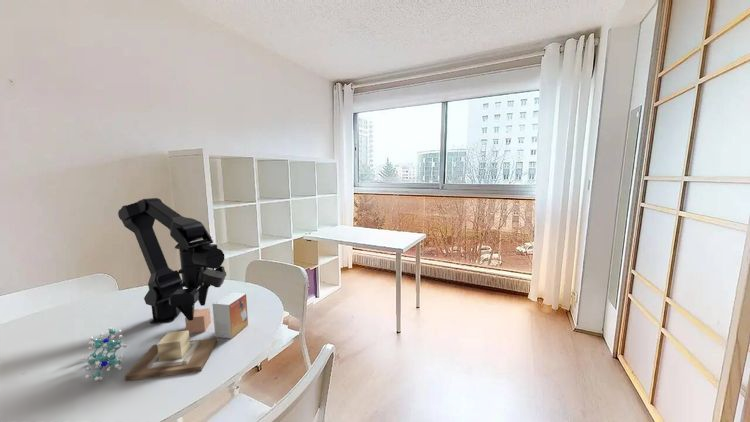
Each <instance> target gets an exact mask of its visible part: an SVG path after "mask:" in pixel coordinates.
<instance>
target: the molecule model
mask: <svg viewBox="0 0 750 422" xmlns="http://www.w3.org/2000/svg"><path fill="white" fill-rule="evenodd" d="M107 330H108V334H109V335H108V336H107V338H105V339H102V337H104V335H105V334H104V333H103V332H101V333H99V338H94V337H93V336H90V337H89V340H90V341H89V342H88V345H91V346H89V347H88V350H89V351H91V350H93V348H94V349H95V350H94V352H93V353H91V354H89V356H86V355H85V356H83V357H82V358H81V360H82V361H88V362H87V364H88V366H87V367H85V371H89V370H91V365H93V364H95V365H94V369H95V370H97V369H98V368H99V367H100V369H99V370H98V371H95V372H94V373H93V374H92V375H91V374H90V373H89V374H86V375H85V377H84V378H85V379H89V378H91V377H92V378H93V379H94V380H95V381H101V380H103V376H101V371H102V369H103V367H106V366H107V365H108V366H109V367H107V369H106V370H105V371H106V372H110V371H111V367H112V366H114V368H116V369H117V370H119V371H120V370H121V369H122V368H123V365H121V364H122V362H123V360H122V359H124V358H125V355H124V354H122V355H120V356H119V357H120V358H119V357H117V356H116V352H117V351H118V350H120V349H121V348H122V347H123V348H126V347H127V346H128V344H126V343H121V340H120V339H122V338H123V335H122V334H120V333H122V329H118V330H116V329H114V328H113V327H111V326H109V327H107ZM115 333H119V334H120V335H118V339H117V340H114V339H115V337H116V335H115ZM109 338H111V339H109ZM101 347H102V348H103V349H102V350H101V352H99V353H97V354H96V352H97V350H98V349H100V348H101ZM113 349H114V352H113V354H111V355H109V356H108V354H109V352H111V351H112V350H113Z"/></svg>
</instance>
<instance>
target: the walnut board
mask: <svg viewBox="0 0 750 422" xmlns="http://www.w3.org/2000/svg"><path fill="white" fill-rule="evenodd" d="M218 338H219V337H214V338H212V337H211V338H203V339H195V340H190V347H191V348H190V349H189V351H188V352H187V354H186V355H185V356H184V358H183V359H178V360H170V361H162V362H159V354H158V346H157V344H153V345H152V346H151V347H150V348H149V349H148V350H147V351H146V353H145V354H143V356H142V357H141V358H140V359H139V360H138V361H137V362H136V363H135V365H134V366H132V368H130V370H129V371H128V372H127V373H126V374H125V376H124V382H128V381H130V382H131V381H139V380H145V379H151V378H159V377H160V378H161V377H165V376H172V375H179V374H180V375H181V374H186V373H187V374H188V373H196V372H202V371H203V369H204V367H205V365H206V363H208V360H209V359H210V356H211V354H212V353H213V352H214V350H215V347H216V345H218V344H217V343H218V342H219V341H218Z"/></svg>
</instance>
